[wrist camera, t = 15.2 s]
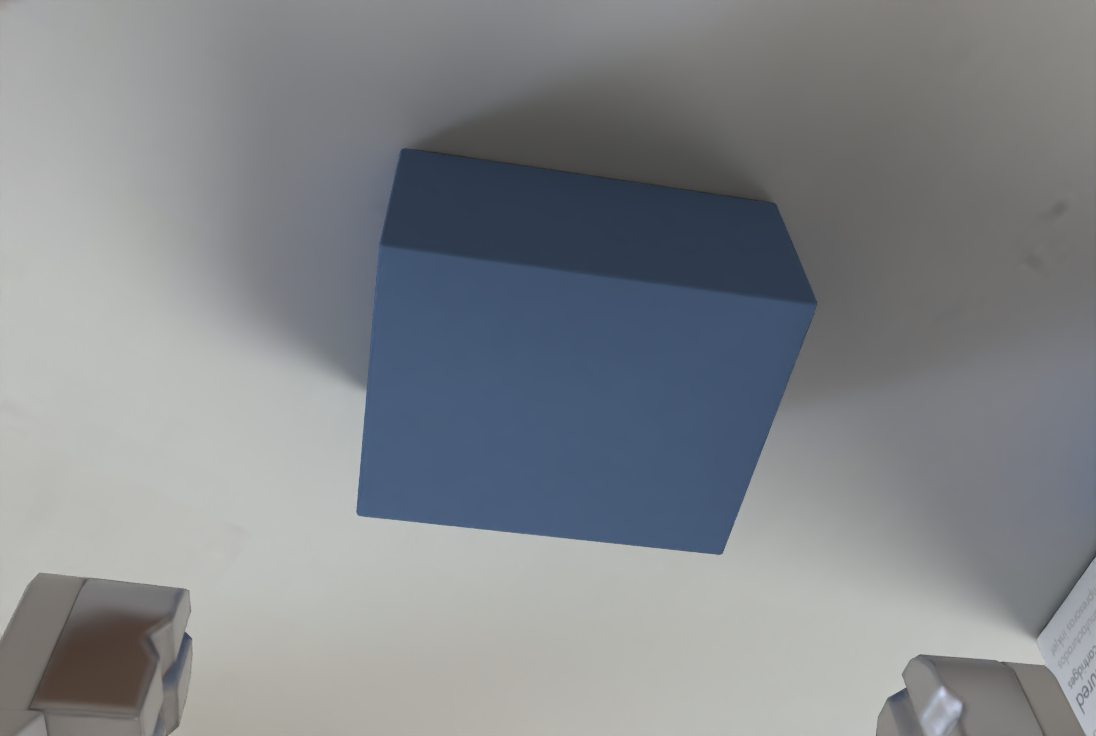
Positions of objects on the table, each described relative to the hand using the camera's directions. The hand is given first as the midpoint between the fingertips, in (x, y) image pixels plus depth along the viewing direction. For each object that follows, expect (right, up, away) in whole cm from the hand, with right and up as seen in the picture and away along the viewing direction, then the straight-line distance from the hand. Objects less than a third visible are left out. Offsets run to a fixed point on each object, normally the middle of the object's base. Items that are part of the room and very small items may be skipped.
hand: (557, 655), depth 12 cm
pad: (0, +4, +6) cm, 7 cm away
